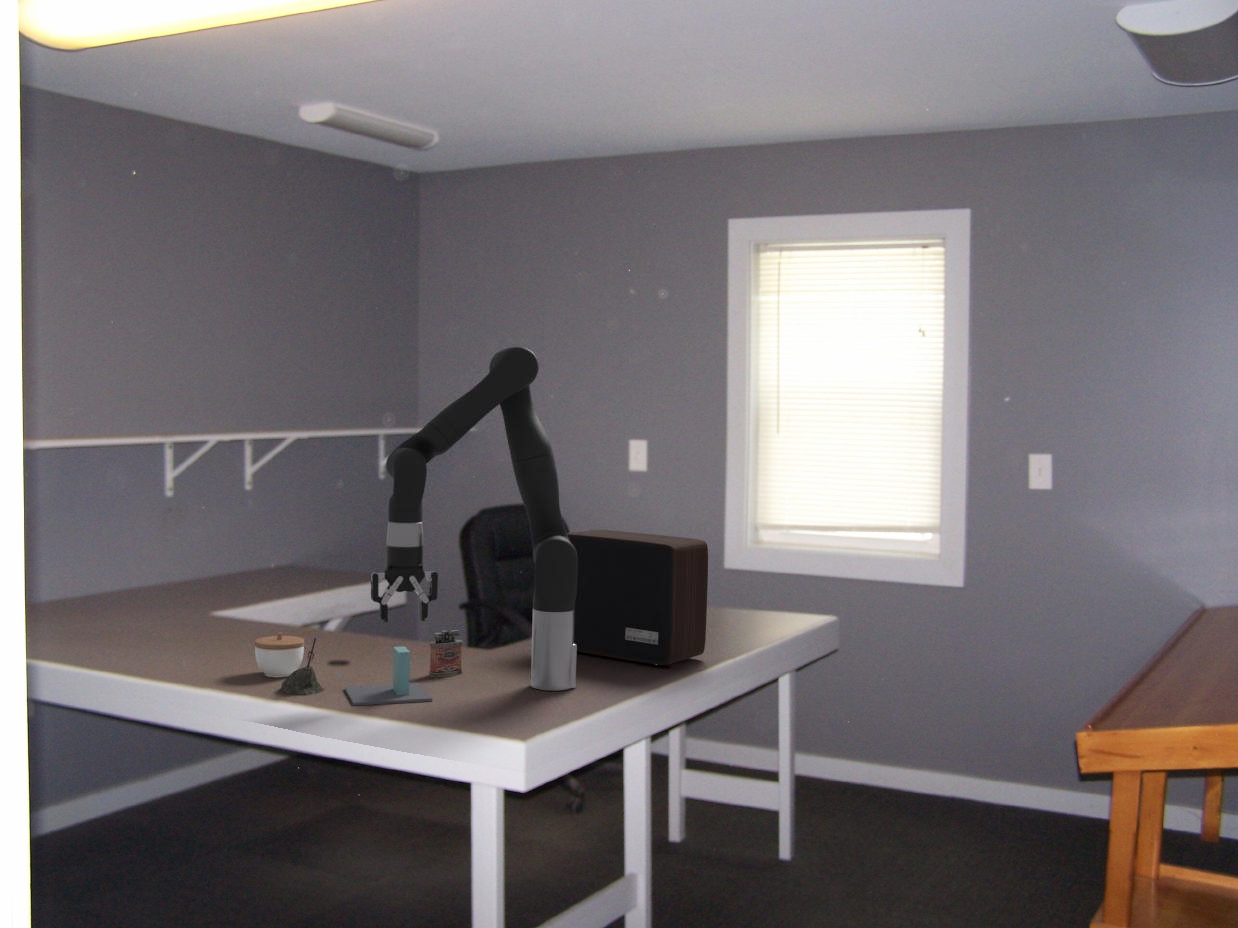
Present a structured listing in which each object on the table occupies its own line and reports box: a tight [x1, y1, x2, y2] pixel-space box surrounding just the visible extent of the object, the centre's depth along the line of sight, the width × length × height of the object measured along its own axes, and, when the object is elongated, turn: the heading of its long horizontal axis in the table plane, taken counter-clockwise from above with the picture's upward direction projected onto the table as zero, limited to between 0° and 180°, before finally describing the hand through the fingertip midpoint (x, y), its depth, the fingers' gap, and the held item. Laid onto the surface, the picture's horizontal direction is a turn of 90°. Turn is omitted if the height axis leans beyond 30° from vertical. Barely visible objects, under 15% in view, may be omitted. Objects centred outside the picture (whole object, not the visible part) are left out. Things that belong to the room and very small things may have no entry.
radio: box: [567, 529, 709, 666], centre depth 305 cm, size 36×18×30 cm, turn 56°
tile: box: [392, 645, 411, 695], centre depth 257 cm, size 2×6×9 cm, turn 20°
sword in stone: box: [280, 637, 325, 696], centre depth 259 cm, size 10×8×12 cm
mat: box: [344, 682, 433, 707], centre depth 256 cm, size 16×14×1 cm
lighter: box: [428, 629, 464, 678], centre depth 278 cm, size 8×3×10 cm, turn 126°
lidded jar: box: [254, 632, 305, 678], centre depth 273 cm, size 11×11×9 cm
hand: (403, 620), depth 257 cm, fingers open, 7 cm apart
